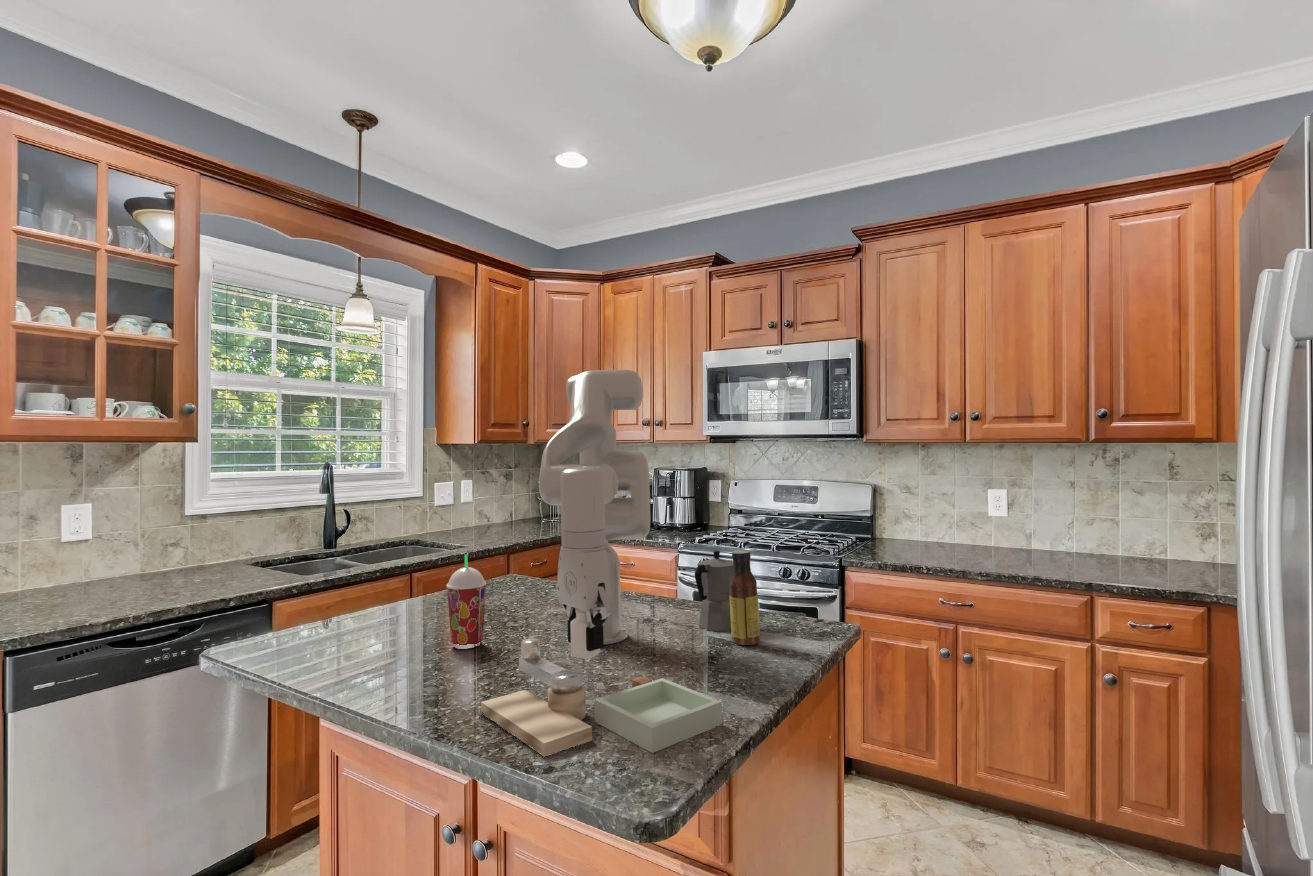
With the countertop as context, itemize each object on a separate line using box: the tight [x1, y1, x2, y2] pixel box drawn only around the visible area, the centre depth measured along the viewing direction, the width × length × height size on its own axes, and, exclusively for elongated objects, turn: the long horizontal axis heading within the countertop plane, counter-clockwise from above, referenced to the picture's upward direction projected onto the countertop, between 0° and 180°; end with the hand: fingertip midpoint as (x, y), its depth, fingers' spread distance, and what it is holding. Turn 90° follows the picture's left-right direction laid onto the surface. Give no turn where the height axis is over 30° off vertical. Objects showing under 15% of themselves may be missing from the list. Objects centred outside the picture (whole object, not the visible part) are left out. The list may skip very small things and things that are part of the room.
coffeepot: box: [694, 550, 733, 632], centre depth 154 cm, size 15×9×18 cm, turn 142°
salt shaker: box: [570, 608, 601, 660], centre depth 112 cm, size 4×4×10 cm
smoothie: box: [446, 554, 487, 645], centre depth 143 cm, size 8×8×20 cm
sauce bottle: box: [729, 549, 761, 646], centre depth 142 cm, size 7×6×20 cm
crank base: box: [480, 676, 653, 756], centre depth 106 cm, size 20×27×4 cm
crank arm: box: [518, 637, 583, 694], centre depth 108 cm, size 16×5×5 cm, turn 40°
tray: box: [594, 677, 723, 754], centre depth 101 cm, size 14×14×4 cm
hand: (585, 643), depth 112 cm, fingers closed on salt shaker, 4 cm apart
